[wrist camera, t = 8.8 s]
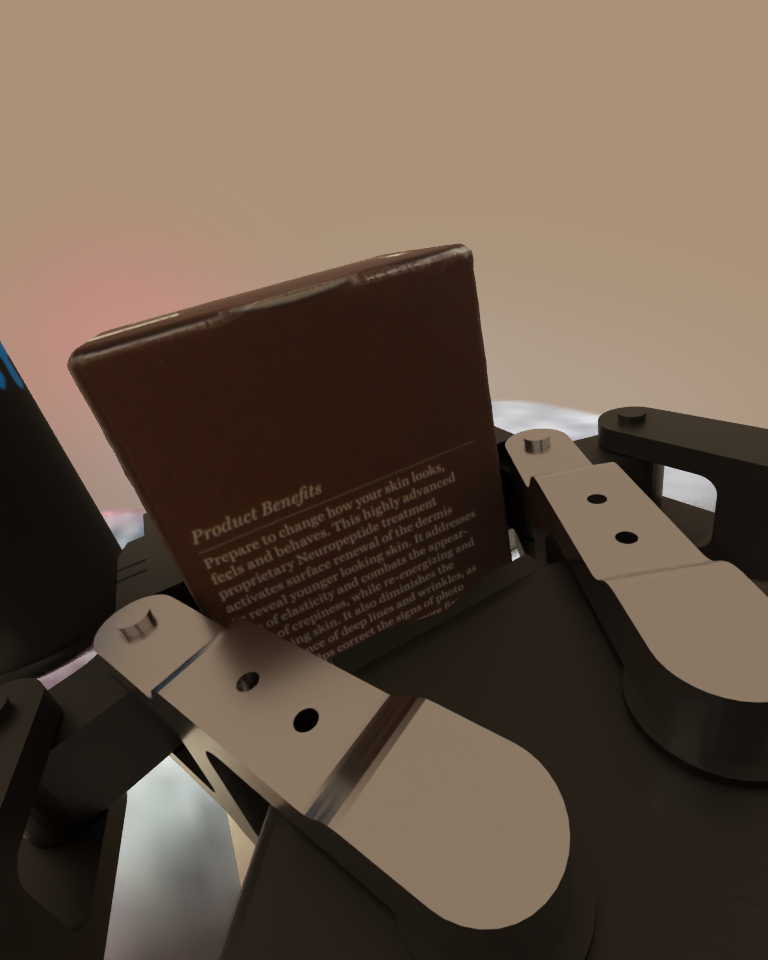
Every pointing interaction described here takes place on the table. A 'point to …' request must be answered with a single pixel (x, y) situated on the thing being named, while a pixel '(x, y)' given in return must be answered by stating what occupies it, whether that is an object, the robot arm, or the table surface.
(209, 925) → the table surface
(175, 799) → the table surface
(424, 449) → the box
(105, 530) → the aerosol can
